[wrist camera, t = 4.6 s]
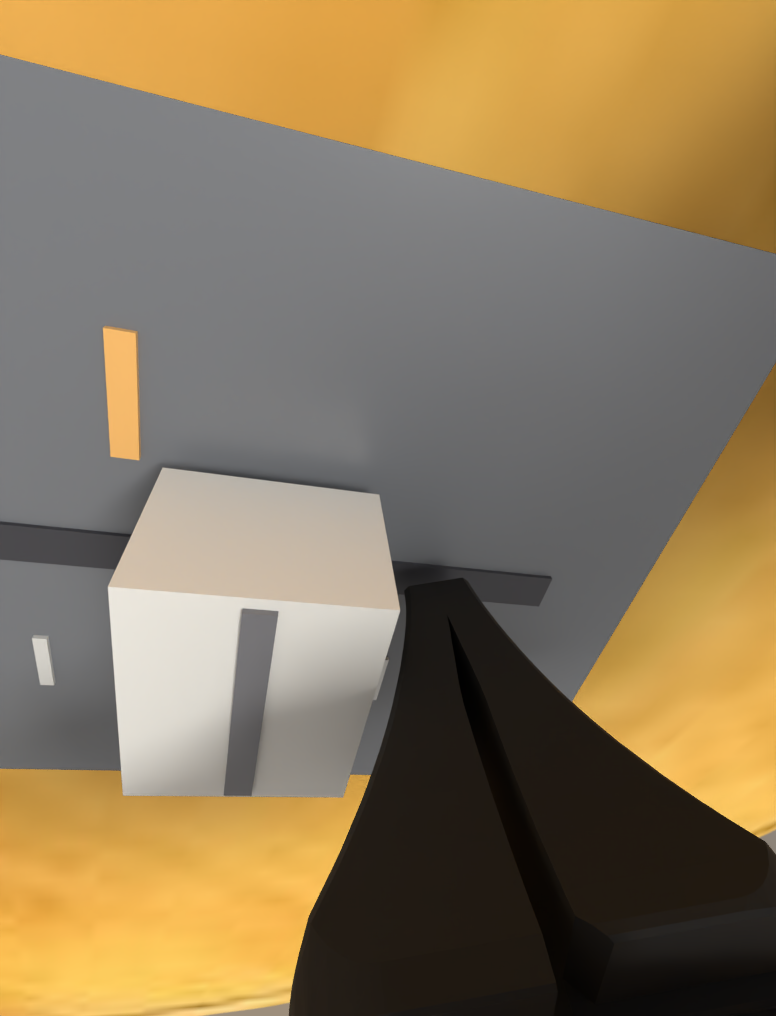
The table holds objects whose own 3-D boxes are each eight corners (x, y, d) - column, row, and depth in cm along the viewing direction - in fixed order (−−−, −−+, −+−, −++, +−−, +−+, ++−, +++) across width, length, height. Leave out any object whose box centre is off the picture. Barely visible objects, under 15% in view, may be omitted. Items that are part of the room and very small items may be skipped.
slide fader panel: (742, 245, 12) (837, 269, 10) (504, 712, 20) (527, 780, 18) (-117, 25, 9) (-261, -14, 6) (22, 691, 17) (-20, 772, 15)
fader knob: (377, 486, 11) (401, 615, 8) (336, 657, 14) (342, 802, 11) (166, 459, 10) (105, 592, 7) (166, 647, 13) (121, 801, 10)
